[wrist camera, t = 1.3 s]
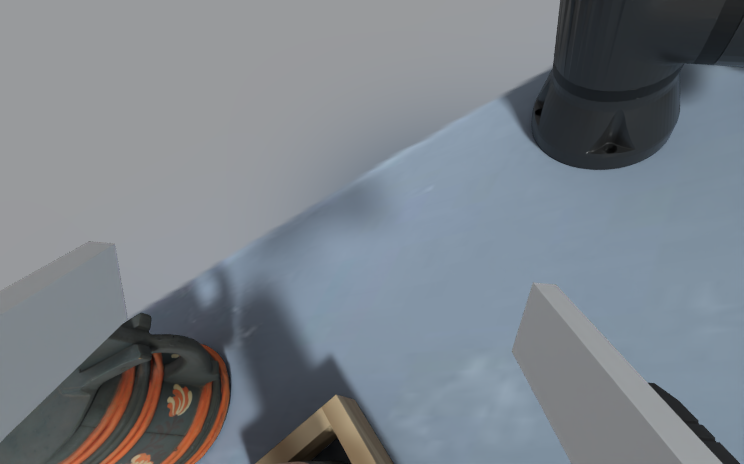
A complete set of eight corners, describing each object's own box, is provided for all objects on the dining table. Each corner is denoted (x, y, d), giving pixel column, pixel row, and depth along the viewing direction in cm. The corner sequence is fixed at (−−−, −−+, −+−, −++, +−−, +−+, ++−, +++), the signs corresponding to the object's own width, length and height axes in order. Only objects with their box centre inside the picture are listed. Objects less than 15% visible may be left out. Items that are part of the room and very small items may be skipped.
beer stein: (249, 307, 49) (116, 237, 32) (279, 418, 40) (120, 400, 24) (129, 379, 49) (-63, 347, 33) (134, 503, 41) (-122, 544, 24)
